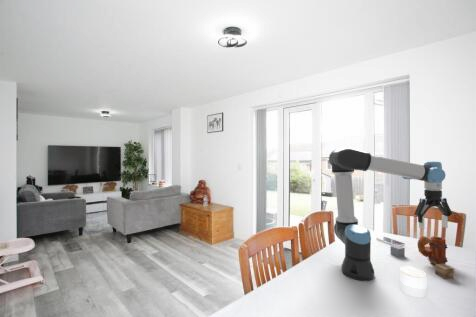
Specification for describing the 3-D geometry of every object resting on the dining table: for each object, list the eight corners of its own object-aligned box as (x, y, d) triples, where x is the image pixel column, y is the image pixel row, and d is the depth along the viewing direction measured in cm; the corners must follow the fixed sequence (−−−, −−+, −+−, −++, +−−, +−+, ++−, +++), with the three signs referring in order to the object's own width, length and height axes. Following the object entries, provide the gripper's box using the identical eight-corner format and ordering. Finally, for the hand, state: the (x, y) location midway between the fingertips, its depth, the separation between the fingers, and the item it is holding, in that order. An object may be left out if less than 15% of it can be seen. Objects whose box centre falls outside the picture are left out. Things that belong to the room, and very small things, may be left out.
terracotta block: (424, 254, 143) (424, 246, 143) (418, 251, 148) (418, 243, 148) (432, 254, 142) (432, 246, 142) (427, 251, 147) (427, 243, 147)
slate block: (398, 257, 140) (398, 249, 139) (390, 254, 144) (390, 246, 144) (404, 256, 141) (404, 247, 141) (396, 252, 146) (396, 244, 146)
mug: (441, 260, 135) (441, 234, 135) (452, 267, 127) (452, 239, 126) (413, 259, 136) (413, 233, 136) (423, 266, 128) (423, 238, 128)
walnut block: (444, 279, 116) (444, 269, 115) (435, 273, 120) (435, 264, 120) (453, 278, 116) (454, 268, 116) (444, 273, 121) (444, 263, 121)
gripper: (417, 191, 126) (417, 231, 126) (460, 189, 128) (460, 228, 128) (406, 189, 133) (406, 226, 134) (447, 187, 135) (447, 224, 136)
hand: (433, 227), depth 131 cm, fingers open, 13 cm apart
